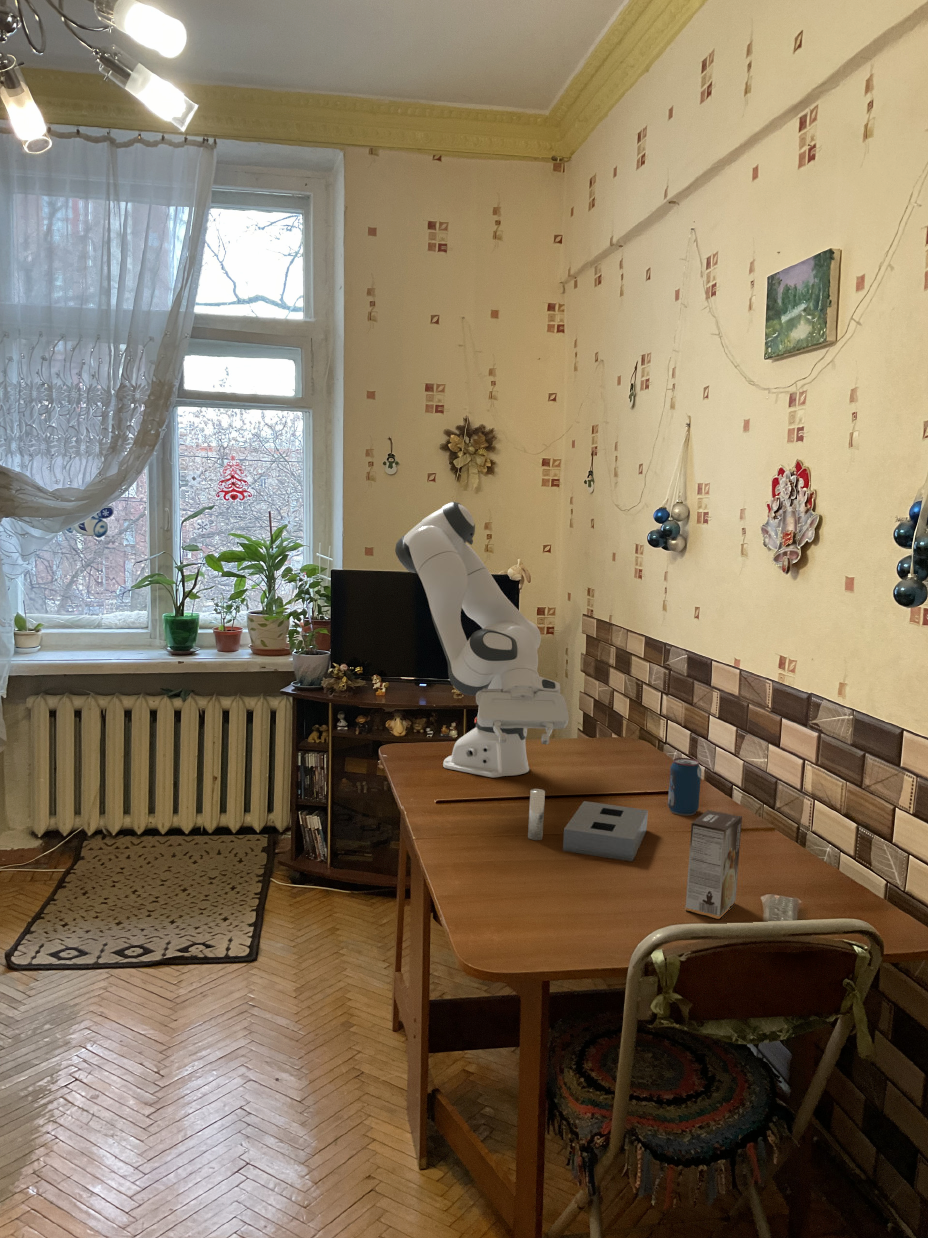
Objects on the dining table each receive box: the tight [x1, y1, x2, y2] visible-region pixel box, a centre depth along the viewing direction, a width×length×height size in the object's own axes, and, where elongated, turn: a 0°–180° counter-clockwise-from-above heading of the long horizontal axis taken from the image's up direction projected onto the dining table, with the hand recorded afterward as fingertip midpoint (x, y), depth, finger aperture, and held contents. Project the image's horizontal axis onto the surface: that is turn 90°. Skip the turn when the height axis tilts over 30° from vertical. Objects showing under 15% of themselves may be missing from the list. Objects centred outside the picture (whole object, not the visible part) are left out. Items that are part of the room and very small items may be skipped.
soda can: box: [667, 757, 702, 816], centre depth 218 cm, size 7×7×12 cm
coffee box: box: [685, 809, 743, 916], centre depth 165 cm, size 9×6×16 cm
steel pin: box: [527, 788, 546, 841], centre depth 196 cm, size 3×3×10 cm
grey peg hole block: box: [562, 800, 649, 862], centre depth 197 cm, size 14×20×4 cm
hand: (524, 742), depth 207 cm, fingers open, 8 cm apart
